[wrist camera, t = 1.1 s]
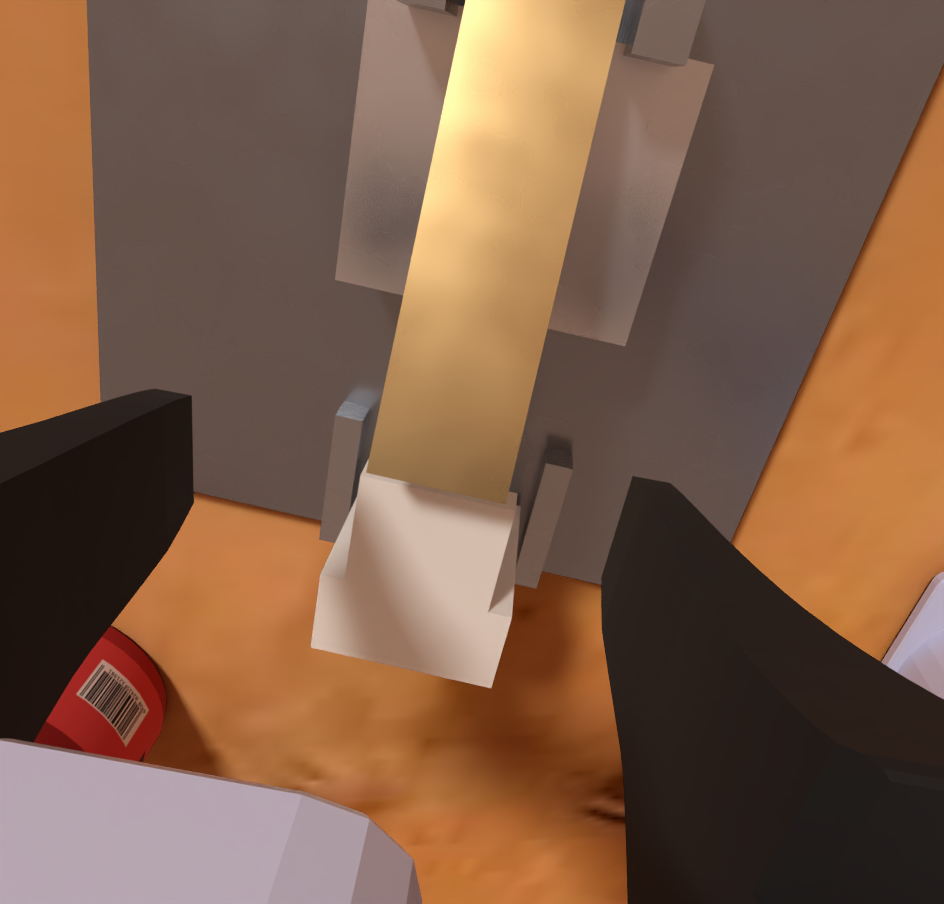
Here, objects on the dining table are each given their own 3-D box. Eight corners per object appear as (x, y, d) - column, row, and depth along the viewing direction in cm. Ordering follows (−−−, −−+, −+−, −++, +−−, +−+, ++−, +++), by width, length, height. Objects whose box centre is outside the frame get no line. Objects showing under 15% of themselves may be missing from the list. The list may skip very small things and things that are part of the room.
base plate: (974, -60, 17) (1168, -122, 11) (695, 585, 25) (732, 721, 20) (107, -261, 17) (-103, -418, 11) (122, 454, 25) (6, 555, 20)
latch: (544, 420, 22) (541, 517, 17) (503, 567, 24) (491, 688, 19) (382, 383, 21) (334, 469, 17) (358, 534, 24) (310, 647, 19)
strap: (631, -36, 14) (642, -66, 13) (504, 496, 15) (505, 506, 14) (486, -70, 14) (486, -103, 13) (373, 465, 15) (365, 473, 14)
